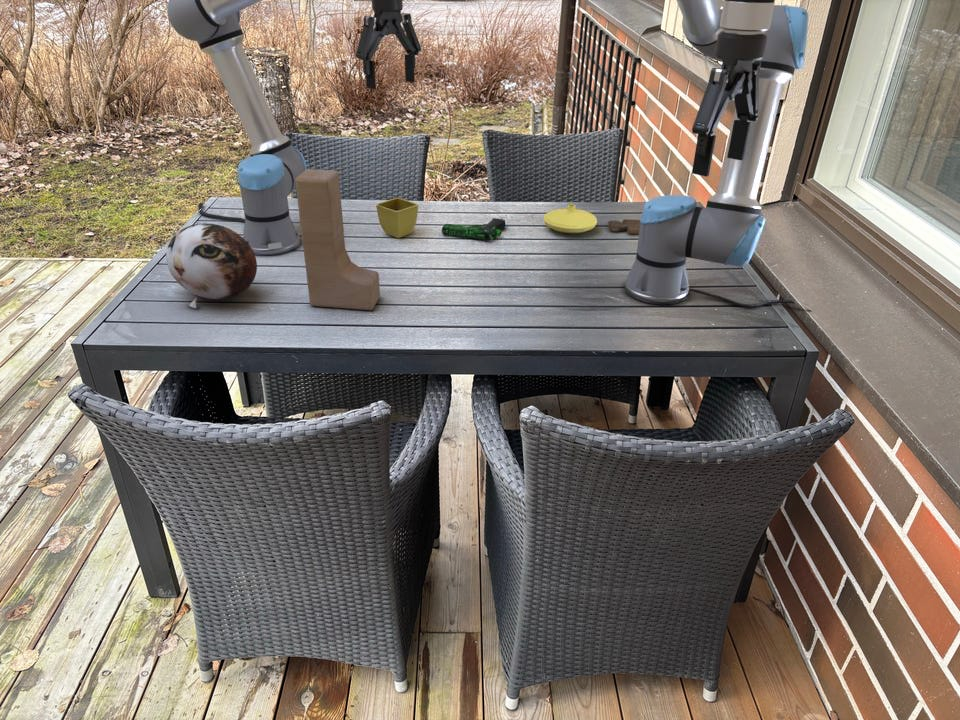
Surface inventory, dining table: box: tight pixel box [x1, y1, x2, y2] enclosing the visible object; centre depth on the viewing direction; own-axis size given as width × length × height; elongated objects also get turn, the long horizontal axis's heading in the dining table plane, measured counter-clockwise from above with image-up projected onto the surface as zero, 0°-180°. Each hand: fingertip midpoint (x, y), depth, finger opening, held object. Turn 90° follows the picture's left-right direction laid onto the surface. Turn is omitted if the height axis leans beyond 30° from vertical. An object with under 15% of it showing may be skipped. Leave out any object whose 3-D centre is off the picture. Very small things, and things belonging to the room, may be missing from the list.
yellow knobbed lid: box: [543, 203, 598, 234], centre depth 209 cm, size 16×16×7 cm
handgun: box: [441, 217, 506, 242], centre depth 207 cm, size 16×3×15 cm
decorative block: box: [295, 168, 381, 311], centre depth 159 cm, size 8×15×30 cm, turn 82°
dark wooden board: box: [607, 219, 640, 235], centre depth 211 cm, size 26×2×10 cm
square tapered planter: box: [375, 197, 419, 239], centre depth 203 cm, size 9×9×9 cm
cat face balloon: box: [165, 222, 258, 309], centre depth 165 cm, size 22×18×20 cm
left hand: (391, 85), depth 185 cm, fingers open, 13 cm apart
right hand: (718, 166), depth 123 cm, fingers open, 13 cm apart
